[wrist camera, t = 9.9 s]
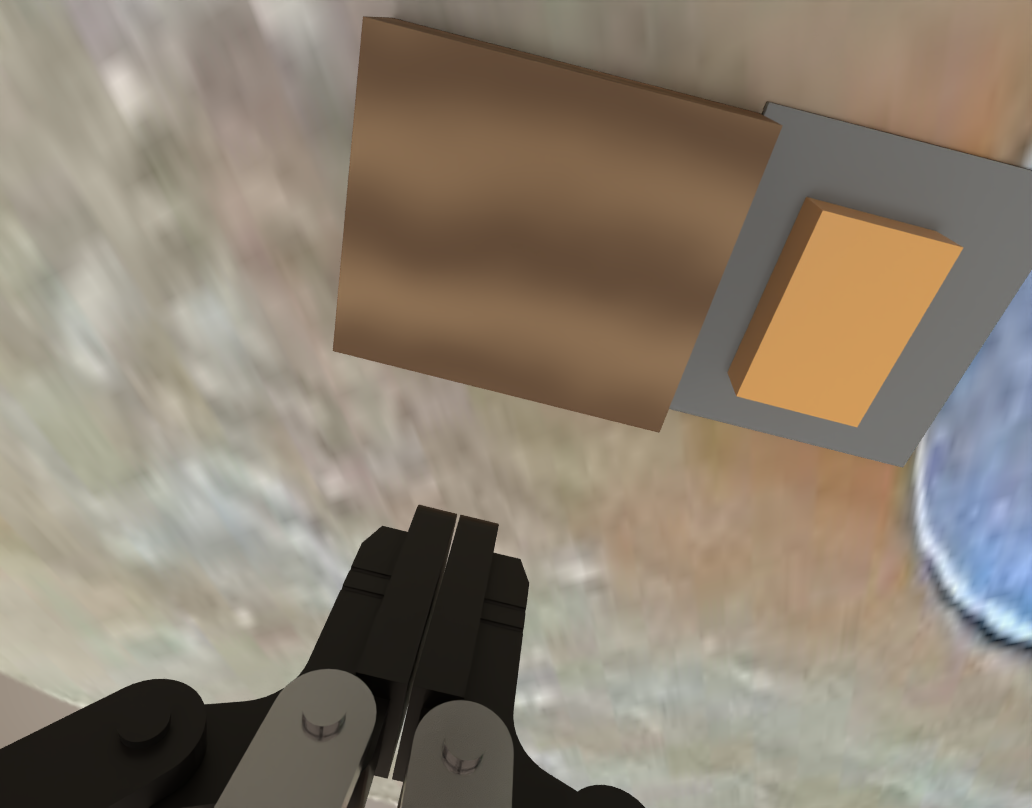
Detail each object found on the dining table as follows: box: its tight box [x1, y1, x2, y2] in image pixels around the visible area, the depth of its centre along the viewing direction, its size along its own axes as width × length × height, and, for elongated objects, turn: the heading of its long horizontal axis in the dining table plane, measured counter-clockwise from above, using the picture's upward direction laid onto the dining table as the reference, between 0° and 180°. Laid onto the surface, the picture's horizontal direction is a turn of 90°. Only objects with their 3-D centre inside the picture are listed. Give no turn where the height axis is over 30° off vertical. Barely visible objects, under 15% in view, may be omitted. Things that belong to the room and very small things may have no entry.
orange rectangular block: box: [727, 197, 963, 427], centre depth 30 cm, size 9×6×2 cm, turn 167°
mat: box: [669, 102, 1032, 467], centre depth 32 cm, size 15×14×1 cm
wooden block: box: [333, 17, 783, 432], centre depth 30 cm, size 14×16×4 cm
